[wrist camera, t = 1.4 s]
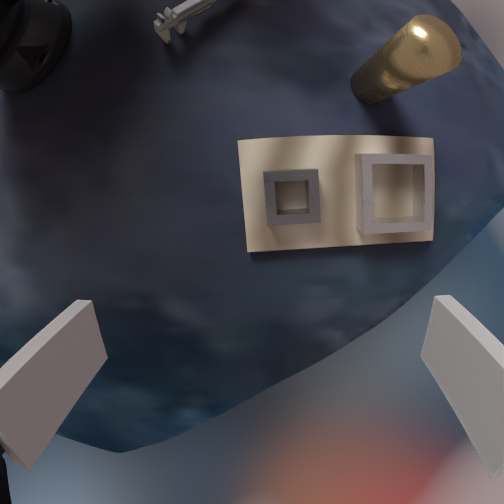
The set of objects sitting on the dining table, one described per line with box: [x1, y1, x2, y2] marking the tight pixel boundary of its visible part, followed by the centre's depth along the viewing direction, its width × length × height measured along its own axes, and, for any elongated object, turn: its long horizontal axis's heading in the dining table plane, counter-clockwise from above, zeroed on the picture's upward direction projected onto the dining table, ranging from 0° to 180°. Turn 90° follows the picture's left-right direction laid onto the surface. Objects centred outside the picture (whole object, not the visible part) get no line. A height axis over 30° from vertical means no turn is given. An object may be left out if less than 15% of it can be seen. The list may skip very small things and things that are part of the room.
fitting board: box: [238, 135, 435, 252], centre depth 31 cm, size 22×12×4 cm, turn 95°
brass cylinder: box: [351, 15, 462, 104], centre depth 22 cm, size 4×4×16 cm
